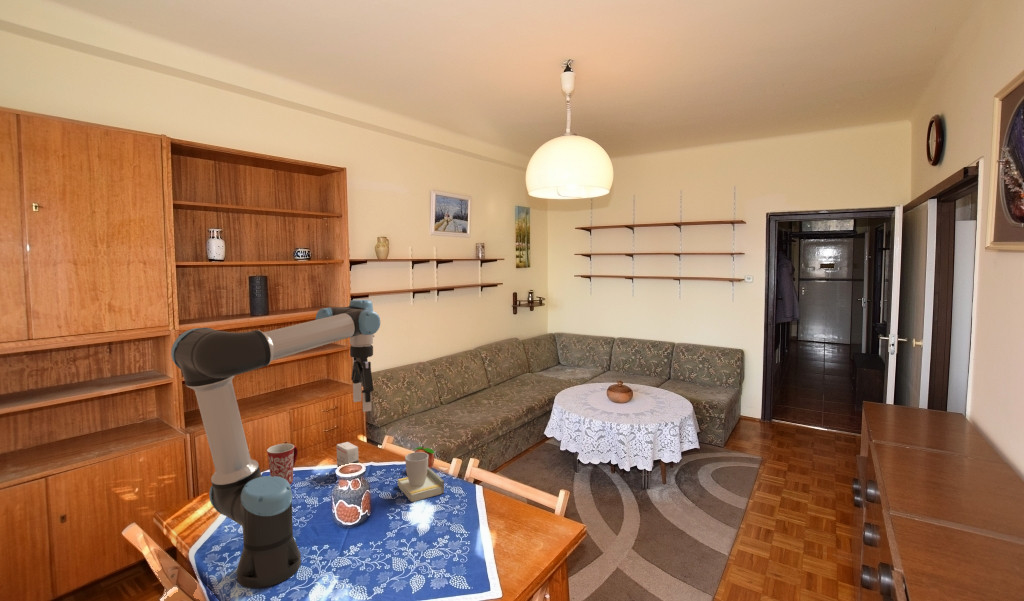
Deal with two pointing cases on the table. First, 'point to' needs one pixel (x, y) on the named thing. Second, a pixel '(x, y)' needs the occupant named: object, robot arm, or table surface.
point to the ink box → (347, 454)
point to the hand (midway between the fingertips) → (362, 406)
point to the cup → (416, 468)
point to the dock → (422, 487)
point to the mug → (282, 460)
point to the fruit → (430, 454)
